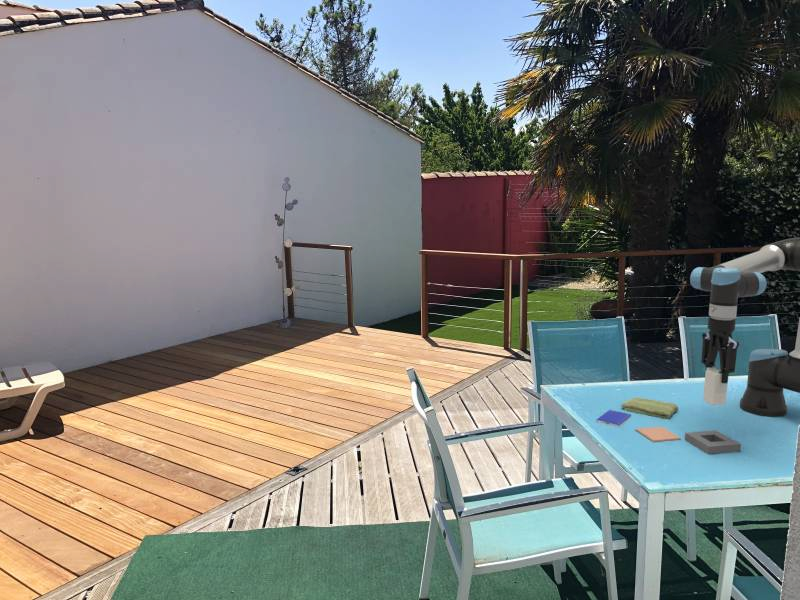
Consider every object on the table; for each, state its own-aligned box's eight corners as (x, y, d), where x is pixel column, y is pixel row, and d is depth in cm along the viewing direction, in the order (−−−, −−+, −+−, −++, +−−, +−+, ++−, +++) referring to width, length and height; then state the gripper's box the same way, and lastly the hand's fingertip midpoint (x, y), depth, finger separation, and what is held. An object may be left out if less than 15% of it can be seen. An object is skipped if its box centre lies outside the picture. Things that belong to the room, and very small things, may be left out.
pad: (661, 428, 206) (662, 426, 206) (680, 439, 196) (680, 438, 196) (635, 430, 204) (635, 428, 204) (653, 442, 195) (653, 440, 195)
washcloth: (631, 401, 234) (631, 393, 234) (679, 411, 223) (679, 403, 223) (619, 410, 224) (620, 402, 224) (669, 421, 213) (669, 413, 213)
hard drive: (609, 409, 222) (596, 418, 212) (631, 414, 217) (619, 424, 207) (608, 413, 222) (595, 423, 213) (631, 418, 217) (618, 428, 207)
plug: (715, 399, 192) (718, 369, 191) (725, 404, 188) (728, 373, 186) (703, 400, 191) (705, 370, 190) (712, 405, 187) (715, 374, 185)
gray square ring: (715, 437, 198) (715, 430, 198) (740, 451, 188) (741, 443, 187) (684, 439, 196) (685, 432, 196) (708, 454, 185) (709, 446, 185)
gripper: (692, 312, 193) (686, 382, 197) (732, 324, 176) (724, 399, 180) (712, 311, 194) (706, 380, 198) (754, 323, 177) (746, 398, 181)
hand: (715, 389), depth 189 cm, fingers closed on plug, 4 cm apart
